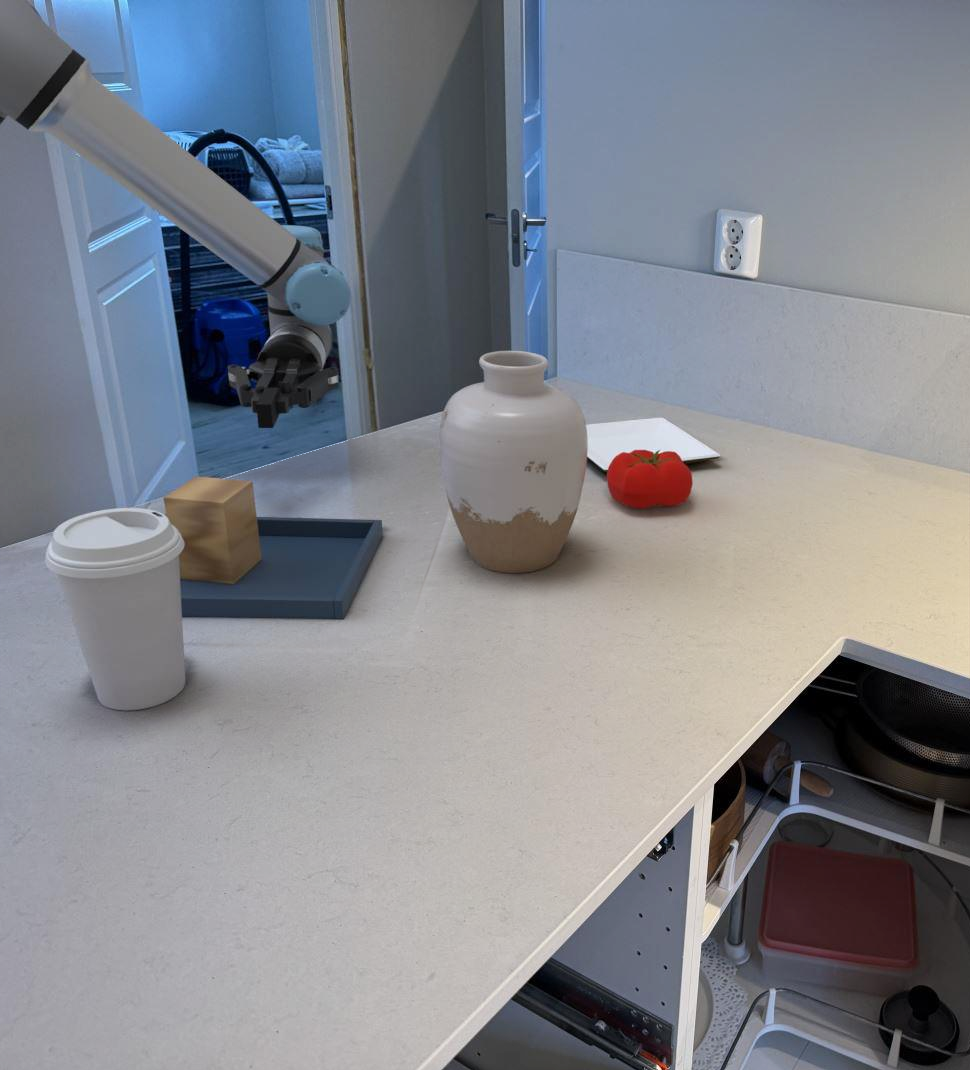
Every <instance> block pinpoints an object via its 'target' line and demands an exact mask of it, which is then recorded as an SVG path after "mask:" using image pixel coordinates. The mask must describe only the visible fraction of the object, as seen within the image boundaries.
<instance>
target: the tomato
mask: <svg viewBox="0 0 970 1070" xmlns="http://www.w3.org/2000/svg"><path fill="white" fill-rule="evenodd" d="M659 451H660V450H658V451H657V452H656V453H655V454H654V453H653V452H651V451H648V450H634V451H632V452H630V453H626V452H622V453H620V454H619V455H617V456H616V457H615V458H614V459H613V460H612V462H611V464H610V465H609V467H608V472H606V482H607V483H606V484H607V489H608V491H609V494H610V496H611V498H612V499H613V500H615V502H618V503H621V504H623V505H624V506H625V507H627V508H629V509H638V510H644V509H649V508H652V507H654V506H659V507H662V508H673V507H676V506H678V505H682V504H684V503H685V502H686V501H688V499H689V497H690V495H691V493H692V488H693V485H694V483H693V482H694V481H693V474H692V471H691V470H690V469H689V466H688V465H687V464H684V463H683V462H682V460H681V458H680V456H679V455H678V454H677V453H676V452H672V451H666V452H662V453H660V454H658V453H659Z"/></svg>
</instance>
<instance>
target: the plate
mask: <svg viewBox="0 0 970 1070" xmlns="http://www.w3.org/2000/svg"><path fill="white" fill-rule="evenodd" d="M586 428H587V436H588V451H587V460H589V461H591V463H593V464H594V465H595V466H597V467H598V468H599V469H600V470H602V471H603V472H605V473H607V472H608V467H609V465H610V464H611V462H612V460H613V459H614V458H615V457H616V456H617V455H619V454H620V453H622V452H626V453H630V452H632V451H634V450H648V451H651V452H653V453H654V454H655V453H656V452H657V451H658V450H660V451H659V453H658V454H660V453H662V452H666V451H672V452H676V453H677V454H678V455H679V456H680V458H681V460H682V462H683V463H684V464H685V465H688V464H689V465H690V464H696V463H701V462H707V461H713V460H718V459H719V458H720V457H721V454H720V453H718V452H717V451H715V449H712V448H711V447H709V446H707V445H706V444H704V443H703V442H701V441H700V440H698V439H697V438H695V437H693V436H692V435H690V434H689V433H688V432H686V431H684V430H683V429H681V428H680V427H678V426H677V425H675V424H673V423H671V422H670V421H669V420H667V419H665V418H664V417H653V418H641V419H632V420H619V421H610V422H601V423H599V422H598V423H589V424H586Z"/></svg>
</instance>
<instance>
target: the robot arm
mask: <svg viewBox="0 0 970 1070" xmlns="http://www.w3.org/2000/svg"><path fill="white" fill-rule="evenodd" d="M8 117H9V118H11V119H13V120H14V121H15V122H17V123H18V124H19V125H21V126H22V127H23V128H25V129H26V130H27V131H29V132H31V133H46V134H50V135H51V136H53V137H54V138H55V139H57V140H58V141H59V142H61V144H64V145H65V146H66V147H67V148H69V149H71V151H73V152H75V153H76V154H77V155H79V156H80V157H81V158H83V159H84V160H86V161H87V162H88V163H90V164H91V165H92V166H93V167H95V168H97V169H98V170H99V171H101V172H102V173H103V174H105V176H107V177H109V178H110V179H111V180H113V181H115V182H116V183H118V185H120V186H121V187H123V188H124V189H125V190H126V191H128V192H129V193H131V194H132V195H133V196H135V197H136V198H138V199H139V200H140V201H142V202H143V203H144V204H146V205H147V206H149V207H150V208H152V209H153V210H154V211H156V212H157V213H158V214H159V215H161V216H162V217H164V218H165V219H167V220H168V221H169V222H171V223H172V224H173V225H175V226H176V227H177V228H179V229H180V230H181V231H183V232H185V233H186V234H187V235H189V236H190V237H191V238H193V239H194V240H195V241H197V242H198V243H199V244H201V245H202V246H203V247H205V248H207V249H208V250H209V251H210V252H211V253H213V254H214V255H216V256H218V257H219V258H220V259H222V260H223V261H224V262H225V263H227V264H228V265H229V266H231V267H232V268H234V269H235V270H236V271H238V272H239V273H241V274H242V275H243V276H245V277H246V278H247V279H249V280H250V281H252V282H253V283H254V284H256V285H257V286H258V287H260V288H261V289H262V290H263V291H265V292H266V295H267V303H268V304H267V310H268V312H267V313H268V321H269V331H270V336H269V337H268V339H267V341H265V343H264V345H263V347H262V348H261V350H260V352H259V353H258V356H257V359H256V361H255V362H253V363H251V364H250V365H249V367H248V369H247V367H246V366H239V365H237V364H230V365H227V373H228V382H229V383H228V384H229V386H230V387H231V388H233V389H235V390H236V392H237V396H238V399H239V403H240V405H241V407H244V408H250V407H251V413H253V414H256V416H257V417H256V418H257V426H258V429H274V427H275V425H276V423H277V421H278V418H279V416H280V414H285V415H286V414H288V413H289V412H290V410H292V409H293V408H294V406H296V405H298V408H301V409H307V408H310V407H311V406H312V405H313V404H315V403H316V402H317V401H319V400H320V399H321V398H322V397H324V396H325V395H327V393H329V392H331V391H333V390H338V389H339V388H340V383H339V382H340V381H339V368H338V367H335V366H331V367H326V368H324V366H325V364H326V360H327V359H328V357H329V355H330V354H331V350H332V349H333V334H332V329H331V326H330V325H332V324H335V323H336V322H339V321H340V320H341V319H342V318H344V316H346V315H347V312H348V311H349V308H350V306H351V301H352V291H351V287H350V285H349V282H348V281H347V279H346V278H345V276H344V273H343V272H342V271H341V270H339V268H337V267H336V266H335V265H333V264H332V263H330V262H328V261H327V260H326V259H325V258H324V253H325V248H324V246H323V240H322V235H321V232H320V231H319V230H317V228H314V227H311V226H303V225H293V224H292V225H291V224H287V225H286V224H283V225H282V224H280V223H279V222H277V221H276V220H275V219H274V218H272V217H271V216H270V215H269V214H267V213H266V212H265V211H264V210H262V209H261V208H260V207H259V206H258V205H256V204H255V203H253V202H252V201H250V199H249V198H247V197H246V196H245V195H244V194H242V193H241V192H239V191H238V190H237V189H236V188H234V187H233V186H232V185H230V184H229V183H228V182H227V181H225V179H223V178H221V176H219V175H218V174H217V173H215V172H214V171H213V170H212V169H210V168H209V167H208V166H207V165H205V164H204V163H203V162H201V160H199V159H198V158H196V157H195V156H194V155H193V154H192V153H190V152H189V151H188V150H187V149H185V148H184V147H182V146H181V145H180V144H179V143H177V142H176V141H175V140H174V139H172V138H171V137H170V136H168V135H167V134H166V133H164V132H163V131H162V130H161V129H159V128H158V127H157V126H156V125H155V124H154V123H152V122H151V121H150V120H148V119H147V118H146V117H144V116H143V115H142V114H141V113H139V112H138V111H137V110H136V109H134V108H133V107H132V106H130V104H128V103H127V102H126V101H124V100H123V99H121V98H120V96H118V95H117V94H116V93H114V92H113V91H111V90H110V89H109V88H108V87H107V86H105V85H104V84H103V83H101V82H100V81H99V80H98V79H97V78H95V77H94V75H93V72H92V69H91V64H90V61H89V60H88V59H87V58H85V57H84V56H83V55H81V54H80V53H79V52H77V51H76V50H75V49H74V48H73V47H72V46H70V45H69V44H68V43H67V42H66V41H65V40H63V39H62V38H61V36H59V35H58V34H57V33H56V32H55V30H53V29H52V28H51V27H50V25H48V24H47V23H46V22H45V20H44V19H43V18H42V16H41V15H40V13H39V12H38V11H37V9H36V8H35V6H33V5H32V4H31V3H30V2H29V1H28V0H0V125H1V124H2V123H3V122H4V121H5V120H6V118H8ZM250 381H252V382H253V383H256V385H255V387H254V388H252V385H251V382H250Z"/></svg>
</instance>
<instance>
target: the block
mask: <svg viewBox="0 0 970 1070" xmlns="http://www.w3.org/2000/svg"><path fill="white" fill-rule="evenodd" d="M255 499H256V498H255V490H254V483H253V481H251V480H242V479H241V480H240V479H229V478H219V477H208V476H198V475H196V476H195V475H194V477H192V478H190V479H189V480H188V481H186V482H184V483H183V484H181V485H180V486H179V487H177V488H175V489H174V490H172V491H170V492H169V493H168V494H166V495H164V496H163V504H164V510H165V514H166V517H167V518H168V519H169V521H170V523H171V524H172V525H173V526H174V527H176V528H177V530H178V531H179V533H180V534H181V536H182V538H183V540H184V544H185V545H184V548H183V550H182V552H181V553H180V554H179V569H180V579H185V580H195V581H206V582H216V583H226V584H235V583H236V582H237V581H238V580H239V579H240V578H242V577H243V576H244V575H245V574H246V573H247V572H248V571H249V570H250V569H252V568H253V567H254V566H255V565H256V564H257V563H258V562H259V561H261V560H262V557H261V549H260V540H259V532H258V524H257V517H258V516H257V509H256V500H255Z"/></svg>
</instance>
